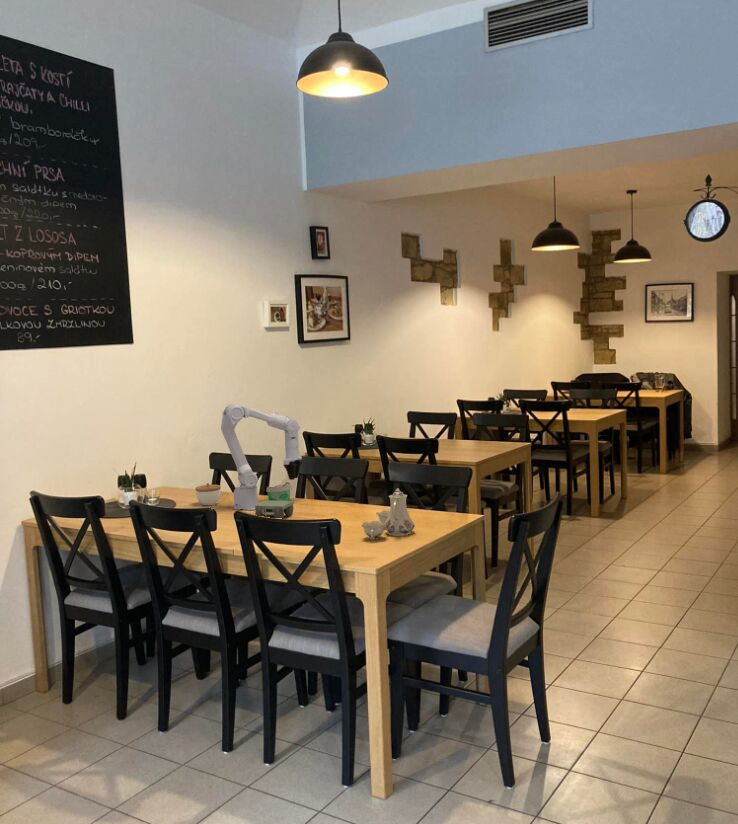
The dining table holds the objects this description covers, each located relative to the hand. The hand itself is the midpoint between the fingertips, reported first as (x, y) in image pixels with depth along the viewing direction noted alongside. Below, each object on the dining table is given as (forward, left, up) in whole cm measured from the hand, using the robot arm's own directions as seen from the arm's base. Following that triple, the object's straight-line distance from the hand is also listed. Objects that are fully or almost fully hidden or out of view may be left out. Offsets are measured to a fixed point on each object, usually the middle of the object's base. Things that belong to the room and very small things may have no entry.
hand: (293, 478), depth 346 cm
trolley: (+4, -29, -10) cm, 31 cm away
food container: (0, -12, -11) cm, 16 cm away
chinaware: (+57, -45, -11) cm, 73 cm away
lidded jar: (-37, -8, -11) cm, 39 cm away
